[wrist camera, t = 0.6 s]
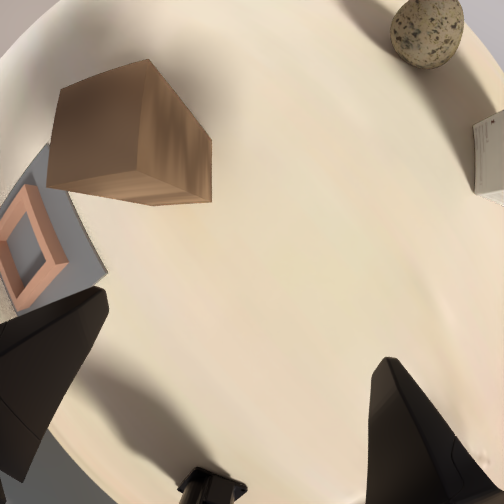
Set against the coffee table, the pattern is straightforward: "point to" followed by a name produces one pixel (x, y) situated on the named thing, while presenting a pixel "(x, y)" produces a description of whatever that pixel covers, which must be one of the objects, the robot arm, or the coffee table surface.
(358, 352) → the coffee table surface
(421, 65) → the decorative egg
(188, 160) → the block
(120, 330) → the coffee table surface
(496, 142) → the supplement box
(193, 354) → the coffee table surface
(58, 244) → the holder
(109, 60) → the coffee table surface
